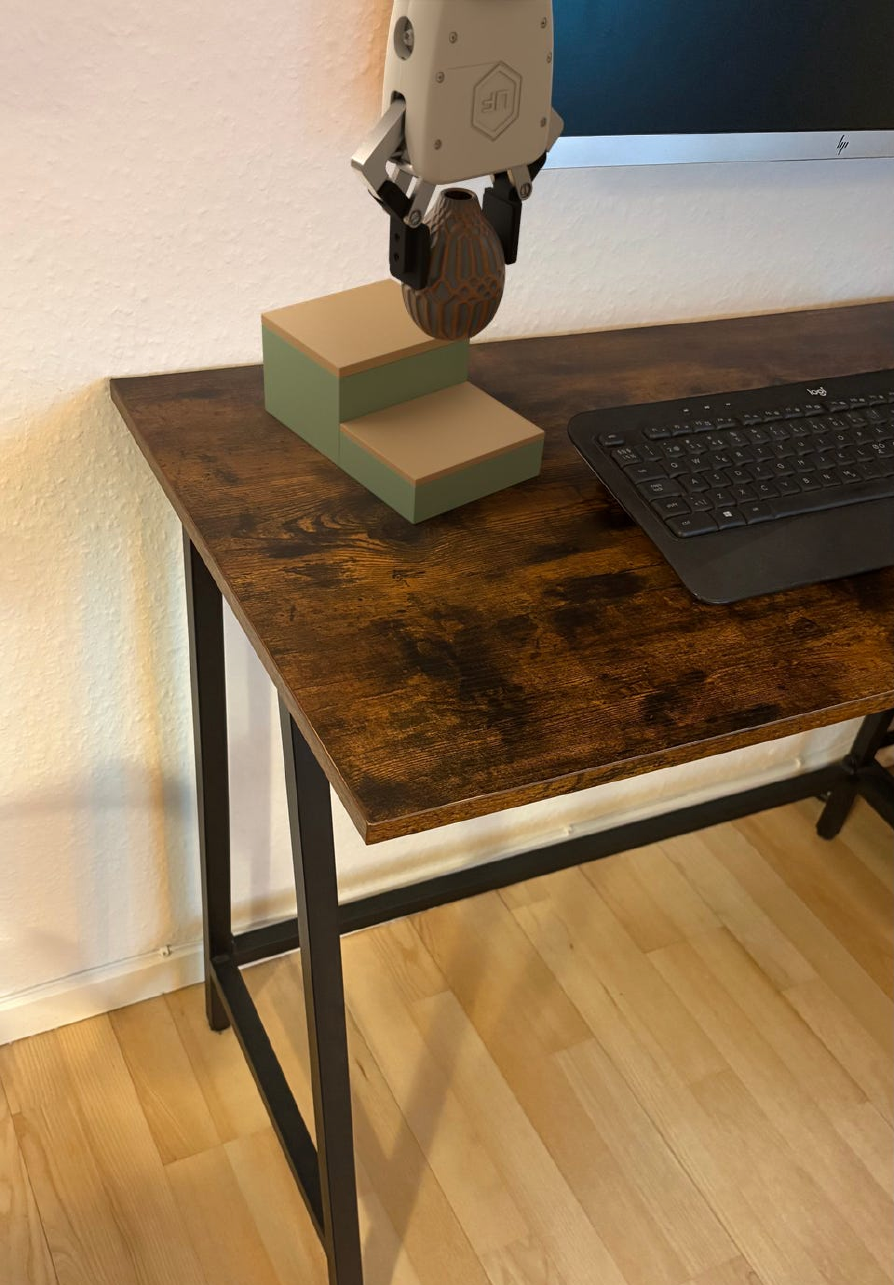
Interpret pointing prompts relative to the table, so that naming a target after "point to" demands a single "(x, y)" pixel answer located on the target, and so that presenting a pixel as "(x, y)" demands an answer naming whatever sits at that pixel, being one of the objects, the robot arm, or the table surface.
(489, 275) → the vase
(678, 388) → the table surface
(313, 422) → the two-step display riser
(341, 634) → the table surface
